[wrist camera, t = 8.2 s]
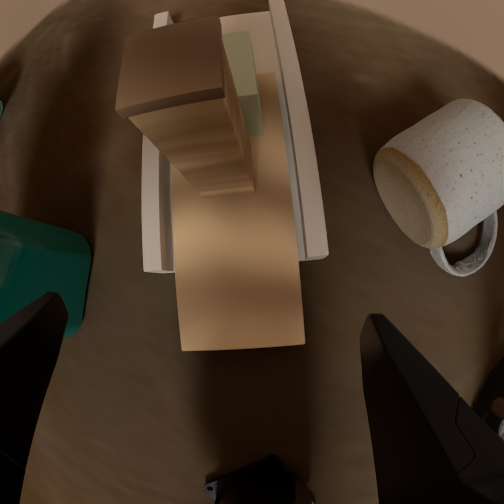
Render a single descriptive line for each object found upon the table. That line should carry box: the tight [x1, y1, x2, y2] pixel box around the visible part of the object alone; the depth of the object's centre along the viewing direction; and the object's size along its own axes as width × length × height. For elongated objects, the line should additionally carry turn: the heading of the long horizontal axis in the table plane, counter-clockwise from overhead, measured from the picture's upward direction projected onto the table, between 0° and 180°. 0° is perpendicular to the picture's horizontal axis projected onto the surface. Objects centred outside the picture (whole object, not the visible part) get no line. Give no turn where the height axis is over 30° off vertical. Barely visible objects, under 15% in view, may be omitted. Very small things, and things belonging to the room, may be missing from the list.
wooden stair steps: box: [115, 15, 305, 351], centre depth 15 cm, size 18×8×13 cm, turn 5°
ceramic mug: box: [373, 99, 504, 277], centre depth 17 cm, size 11×8×8 cm
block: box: [222, 31, 264, 137], centre depth 18 cm, size 5×5×5 cm
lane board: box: [142, 0, 329, 273], centre depth 21 cm, size 22×11×3 cm, turn 5°
